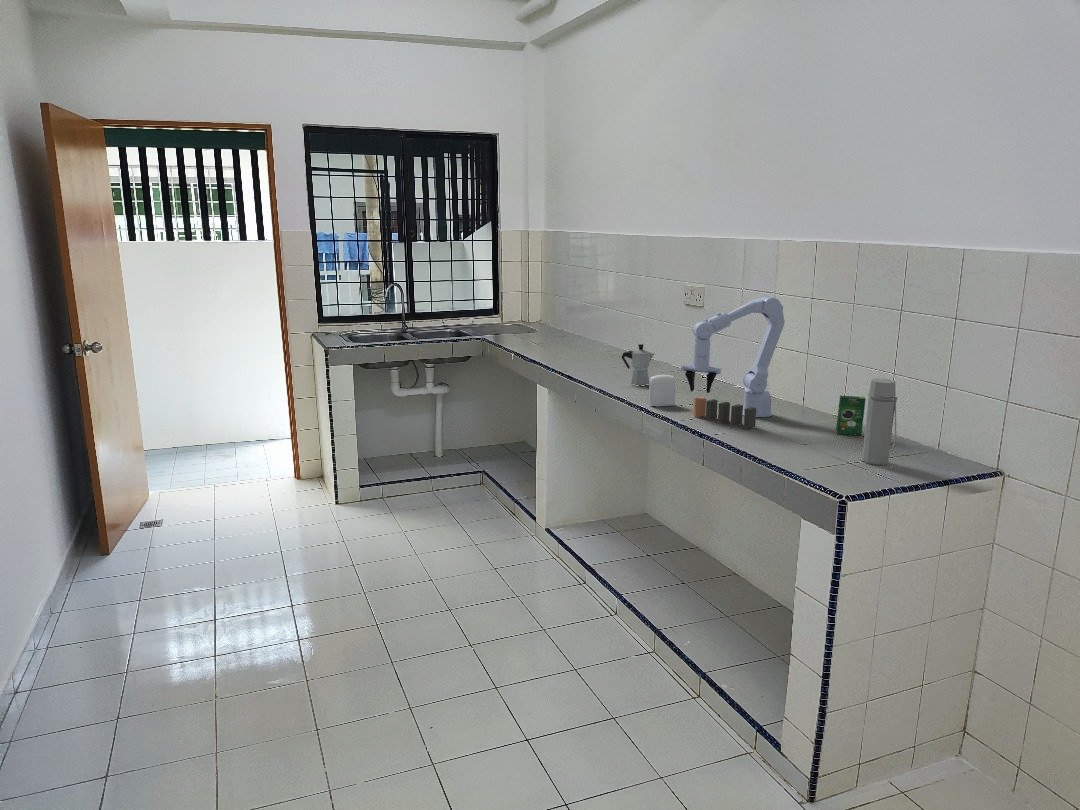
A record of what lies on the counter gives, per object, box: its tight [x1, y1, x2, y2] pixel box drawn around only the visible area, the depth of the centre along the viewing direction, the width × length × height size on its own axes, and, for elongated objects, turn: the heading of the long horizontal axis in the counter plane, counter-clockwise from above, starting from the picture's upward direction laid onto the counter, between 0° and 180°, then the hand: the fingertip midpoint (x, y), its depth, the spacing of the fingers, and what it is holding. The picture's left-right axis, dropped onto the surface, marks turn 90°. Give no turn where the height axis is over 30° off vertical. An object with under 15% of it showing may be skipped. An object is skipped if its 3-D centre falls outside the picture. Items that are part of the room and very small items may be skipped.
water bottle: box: [862, 378, 898, 466], centre depth 227 cm, size 9×8×25 cm
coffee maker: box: [621, 343, 655, 385], centre depth 340 cm, size 15×9×18 cm, turn 84°
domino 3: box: [730, 403, 744, 427], centre depth 273 cm, size 2×4×7 cm, turn 130°
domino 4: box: [743, 407, 757, 430], centre depth 269 cm, size 2×4×7 cm, turn 130°
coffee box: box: [835, 395, 866, 436], centre depth 259 cm, size 8×3×13 cm, turn 77°
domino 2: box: [717, 401, 731, 424], centre depth 277 cm, size 2×4×7 cm, turn 130°
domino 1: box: [705, 398, 719, 421], centre depth 281 cm, size 2×4×7 cm, turn 130°
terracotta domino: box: [692, 396, 707, 418], centre depth 285 cm, size 2×4×7 cm, turn 98°
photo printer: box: [648, 374, 676, 407], centre depth 301 cm, size 10×4×12 cm, turn 96°
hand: (700, 391), depth 284 cm, fingers open, 5 cm apart
